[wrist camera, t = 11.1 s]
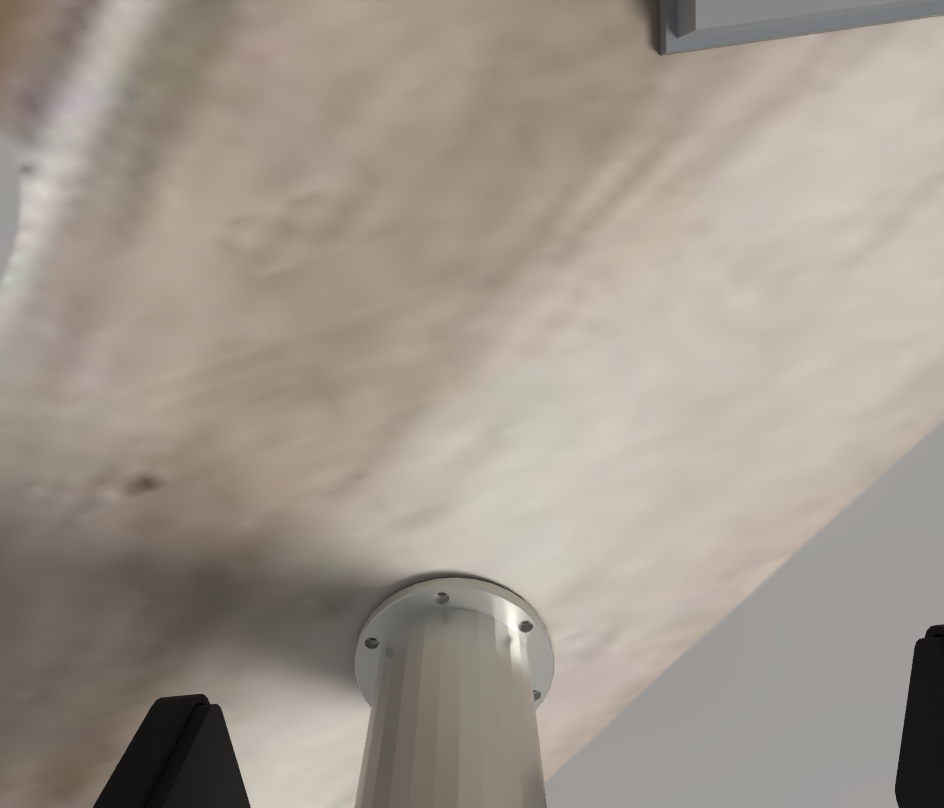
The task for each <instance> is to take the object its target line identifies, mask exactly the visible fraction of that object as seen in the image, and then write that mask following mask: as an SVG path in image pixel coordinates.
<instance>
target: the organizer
mask: <svg viewBox="0 0 944 808" xmlns="http://www.w3.org/2000/svg"><path fill="white" fill-rule="evenodd" d="M659 15H660V56H661V55H668V54H675V53H682V52H689V51H697V50H704V49H711V48H718V47H725V46H732V45H739V44H746V43H753V42H760V41H767V40H774V39H781V38H788V37H795V36H802V35H809V34H816V33H823V32H830V31H838V30H845V29H852V28H859V27H866V26H873V25H880V24H887V23H894V22H901V21H908V20H915V19H922V18H929V17H936V16H943V15H944V0H659Z"/></svg>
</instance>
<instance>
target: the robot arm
mask: <svg viewBox="0 0 944 808" xmlns="http://www.w3.org/2000/svg"><path fill="white" fill-rule="evenodd" d="M355 675H356V679H357V683H358V687H359V689H360V691H361V693H362V695H363V697H364V699H365V700H366V702H367V703H368V704H369V705H370V707H371V713H370V719H369V725H368V731H367V736H366V742H365V748H364V754H363V760H362V766H361V772H360V777H359V783H358V789H357V795H356V801H355V807H354V808H547V804H546V795H545V787H544V778H543V770H542V761H541V753H540V744H539V736H538V727H537V719H536V711H535V710H536V709H537V708H538V707H539V706H540V704H541V703H542V702H543V701H544V699H545V697H546V695H547V693H548V691H549V689H550V687H551V683H552V679H553V675H554V653H553V647H552V642H551V639H550V636H549V633H548V630H547V628H546V626H545V624H544V623H543V621H542V620H541V618H540V617H539V615H538V614H537V613H536V612H535V611H534V610H533V609H532V607H531V606H530V605H529V604H528V603H527V602H525V601H524V600H523V599H521V598H520V597H518V596H517V595H515V594H514V593H512V592H511V591H508V590H506V589H504V588H502V587H499V586H497V585H495V584H492V583H488V582H484V581H480V580H476V579H467V578H456V577H455V578H441V579H433V580H429V581H424V582H420V583H416V584H414V585H412V586H409V587H407V588H404V589H402V590H400V591H398V592H397V593H395V594H393V595H392V596H390V597H389V598H387V599H386V600H384V601H383V602H382V603H381V604H380V605H379V606H378V607H377V608H376V609H375V610H374V611H373V612H372V613H371V615H370V616H369V618H368V619H367V621H366V622H365V624H364V625H363V628H362V631H361V633H360V636H359V639H358V642H357V647H356V652H355ZM895 794H896V800H897V803H898V806H899V808H944V625H935V626H931V627H930V628H929V629H928V630H927V632H926V635H925V638H922V639H919V640H918V641H917V642H916V645H915V649H914V656H913V663H912V670H911V677H910V684H909V691H908V699H907V706H906V713H905V720H904V727H903V734H902V741H901V748H900V755H899V762H898V770H897V776H896V784H895ZM93 808H251V807H250V804H249V800H248V797H247V793H246V790H245V787H244V783H243V780H242V777H241V773H240V770H239V767H238V763H237V760H236V756H235V753H234V750H233V746H232V743H231V740H230V736H229V733H228V730H227V726H226V723H225V719H224V716H223V713H222V710H221V708H220V706H219V705H218V704H210V703H209V701H208V698H207V697H206V696H205V695H204V694H195V695H184V696H173V697H162V698H160V699H158V700H156V701H155V703H154V704H153V705H152V707H151V708H150V710H149V712H148V713H147V715H146V717H145V719H144V720H143V722H142V724H141V725H140V727H139V729H138V731H137V732H136V734H135V736H134V737H133V739H132V741H131V743H130V744H129V746H128V748H127V750H126V751H125V753H124V755H123V756H122V758H121V760H120V762H119V763H118V765H117V767H116V768H115V770H114V772H113V774H112V775H111V777H110V779H109V780H108V782H107V784H106V786H105V787H104V789H103V791H102V793H101V794H100V796H99V798H98V799H97V801H96V803H95V805H94V806H93Z"/></svg>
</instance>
